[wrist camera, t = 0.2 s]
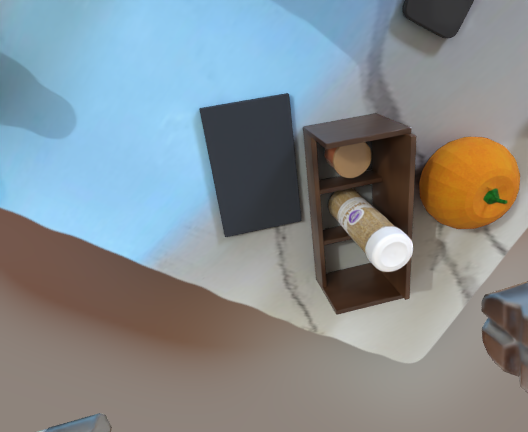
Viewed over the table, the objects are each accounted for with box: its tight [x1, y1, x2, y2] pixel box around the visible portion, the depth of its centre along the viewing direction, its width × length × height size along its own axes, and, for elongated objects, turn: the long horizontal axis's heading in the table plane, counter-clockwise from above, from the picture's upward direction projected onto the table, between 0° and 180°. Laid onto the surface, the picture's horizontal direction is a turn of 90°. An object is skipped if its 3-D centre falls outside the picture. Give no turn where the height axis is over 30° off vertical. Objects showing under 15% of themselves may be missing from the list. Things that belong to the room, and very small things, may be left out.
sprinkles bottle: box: [328, 188, 413, 272], centre depth 46 cm, size 5×4×14 cm
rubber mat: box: [200, 93, 301, 237], centre depth 47 cm, size 16×10×1 cm, turn 8°
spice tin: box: [324, 142, 372, 178], centre depth 47 cm, size 5×5×4 cm
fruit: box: [419, 137, 520, 229], centre depth 49 cm, size 12×12×10 cm
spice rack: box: [303, 113, 416, 314], centre depth 48 cm, size 22×9×9 cm, turn 8°
